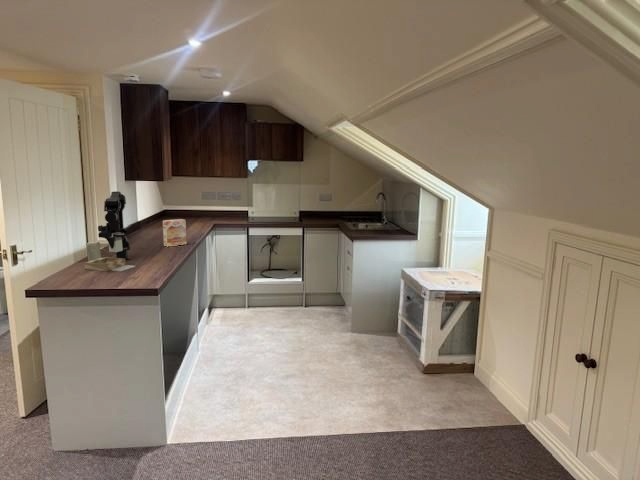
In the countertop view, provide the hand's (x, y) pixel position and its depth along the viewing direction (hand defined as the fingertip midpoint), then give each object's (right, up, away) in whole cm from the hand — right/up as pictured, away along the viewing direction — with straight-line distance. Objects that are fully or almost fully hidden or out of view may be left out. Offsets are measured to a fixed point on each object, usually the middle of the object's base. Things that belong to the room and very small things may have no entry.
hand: (115, 247), depth 247 cm
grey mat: (+4, -12, +1) cm, 13 cm away
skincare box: (-22, -9, +18) cm, 30 cm away
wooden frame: (-8, -12, +4) cm, 15 cm away
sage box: (0, -2, 0) cm, 2 cm away
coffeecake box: (+11, 0, +71) cm, 72 cm away
